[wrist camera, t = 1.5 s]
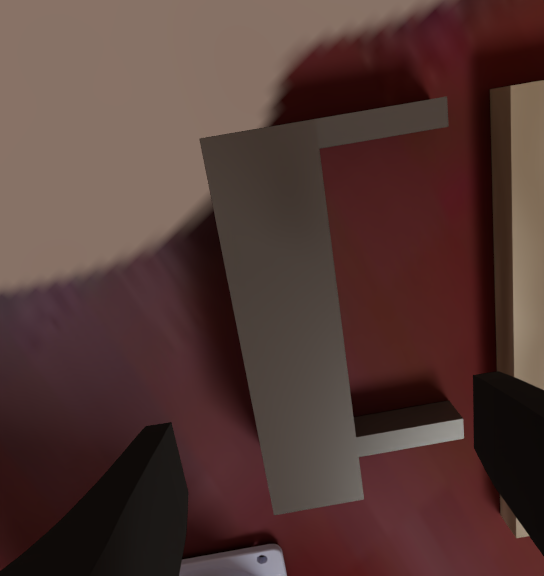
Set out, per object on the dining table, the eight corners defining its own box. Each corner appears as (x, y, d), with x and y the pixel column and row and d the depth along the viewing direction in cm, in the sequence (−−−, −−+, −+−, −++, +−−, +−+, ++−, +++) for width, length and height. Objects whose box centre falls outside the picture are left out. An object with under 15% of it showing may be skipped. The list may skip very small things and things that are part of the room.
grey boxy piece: (268, 451, 23) (274, 515, 19) (207, 137, 19) (199, 138, 15) (449, 419, 23) (491, 476, 19) (431, 99, 19) (479, 91, 15)
